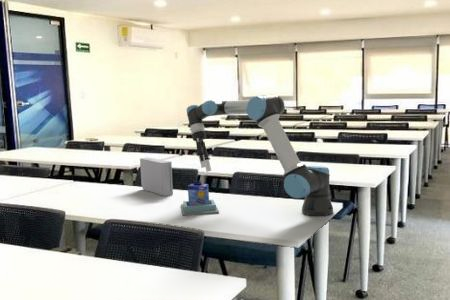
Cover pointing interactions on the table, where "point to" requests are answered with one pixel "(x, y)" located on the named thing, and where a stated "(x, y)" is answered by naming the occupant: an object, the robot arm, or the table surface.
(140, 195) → the table surface
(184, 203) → the cradle
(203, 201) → the ink cartridge box
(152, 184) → the game console
